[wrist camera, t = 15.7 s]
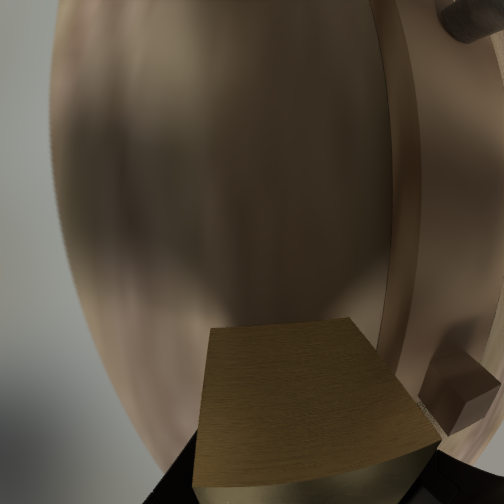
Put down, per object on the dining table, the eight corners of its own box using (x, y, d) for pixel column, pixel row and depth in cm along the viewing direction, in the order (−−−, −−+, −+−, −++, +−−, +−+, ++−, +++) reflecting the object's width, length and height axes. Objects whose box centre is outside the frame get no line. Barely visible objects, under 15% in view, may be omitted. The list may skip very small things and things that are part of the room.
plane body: (453, 363, 13) (501, 411, 8) (368, 388, 12) (409, 458, 8) (461, 29, 8) (520, 2, 3) (367, -7, 8) (418, -64, 3)
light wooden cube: (328, 443, 9) (361, 541, 5) (228, 453, 9) (231, 561, 4) (349, 317, 8) (442, 439, 3) (210, 327, 8) (192, 486, 3)
